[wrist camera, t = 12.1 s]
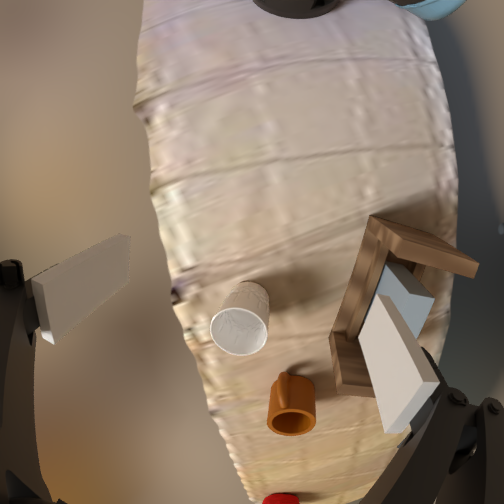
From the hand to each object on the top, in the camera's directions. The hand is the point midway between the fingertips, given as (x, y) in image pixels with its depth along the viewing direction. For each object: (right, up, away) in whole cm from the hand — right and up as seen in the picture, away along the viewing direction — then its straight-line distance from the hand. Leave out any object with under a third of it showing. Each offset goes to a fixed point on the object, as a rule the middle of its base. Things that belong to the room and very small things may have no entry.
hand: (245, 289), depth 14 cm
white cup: (0, -6, +33) cm, 33 cm away
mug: (+8, -24, +37) cm, 45 cm away
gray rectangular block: (+21, -4, +28) cm, 35 cm away
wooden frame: (+22, -4, +29) cm, 36 cm away
